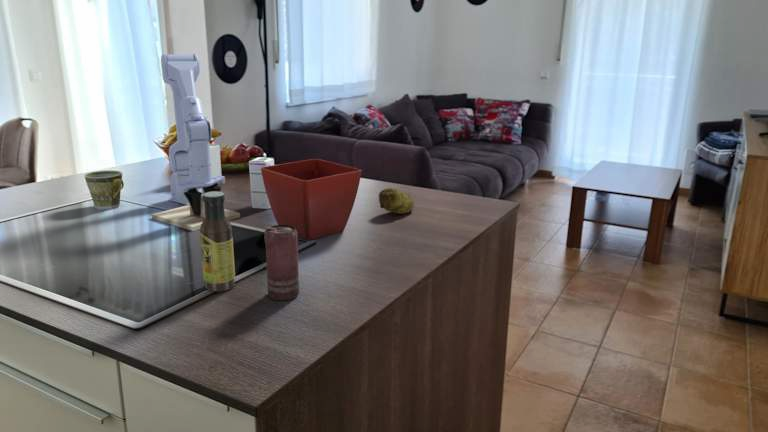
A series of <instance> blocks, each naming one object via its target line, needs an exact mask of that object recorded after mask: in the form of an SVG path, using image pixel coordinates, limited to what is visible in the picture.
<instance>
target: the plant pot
mask: <svg viewBox="0 0 768 432" xmlns="http://www.w3.org/2000/svg"><path fill="white" fill-rule="evenodd" d="M261 172H262V177H263V182H264V186H265V190H266V194H267V197H268V200H269V203H270V206H271V208H270V209H271V211H272V214H273V216H274V219H275V222H276V223H277V224H276V225H291V226H294V227H295V229H296V231H297V238H301V239H302V240H303V239H304V240H306V241H310V240H315V239H318V238H322V237H324V236H329V235H332V234H336V233H340V232H343V231H344V230H345V229H346V226H347V224H348V221H349V218H350V216H351V213H352V211H353V208H354V205H355V203H356V199H357V194H358V191H359V185H360V181H361V178H362V177H361V176H362V169H359V168H356V167H352V166H348V165H343V164H340V163H336V162H332V161H328V160H323V159H320V158H313V159H312V158H310V159H305V160H298V161H293V162H292V161H291V162H287V163H281V164H280V163H279V164H274V165H273V166H267V167H262V168H261Z"/></svg>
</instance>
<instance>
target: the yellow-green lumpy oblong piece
mask: <svg viewBox="0 0 768 432" xmlns="http://www.w3.org/2000/svg"><path fill="white" fill-rule="evenodd" d="M378 202H379V203H378V204H380V206H379V207H380V209H384V210H385V211H388V212H393V213H395V214H399V215H403V214H407V213H409V212H411V211H412V210H413V208H414V205H415V199H414V197H413V196H411V195H410V194H409V193H406V192H405V193H404V192H402V191H401V190H400V189H397V188H395V187H386V188H384V189H382V190H381V191H380V192H379V194H378Z"/></svg>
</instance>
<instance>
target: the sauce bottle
mask: <svg viewBox="0 0 768 432" xmlns="http://www.w3.org/2000/svg"><path fill="white" fill-rule="evenodd" d="M202 196H203V202H204V205H205V219H204V221H203V222H202V224H201V227H200V229H199V239H200V253H201V265H202V279H203V281H204V283H203V285H204V288H205V289H206V290H208V291H211V292H217V293H219V292H226V291H229V290H231V289H234V286H235V282H236V280H235V279H236V271H235V270H236V269H235V255H234V253H235V252H234V239H233V233H232V232H233V229H232V224H231V222H230V220H229V221H228V219H227V218H226V217H225V211H224V209H225V200H226V197H225V194H224V192H222V191H220V192H218V191H213V192H207V193H202Z"/></svg>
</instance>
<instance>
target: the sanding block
mask: <svg viewBox="0 0 768 432" xmlns="http://www.w3.org/2000/svg"><path fill="white" fill-rule="evenodd" d="M189 207H190V215H191V216H194V217H198V218H201V219H205V205H204V202H203V195H202V196H201V201H200V208H201V214H200V216H197V215H194V213H193V210H192V208H191V205H190V203H189Z"/></svg>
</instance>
